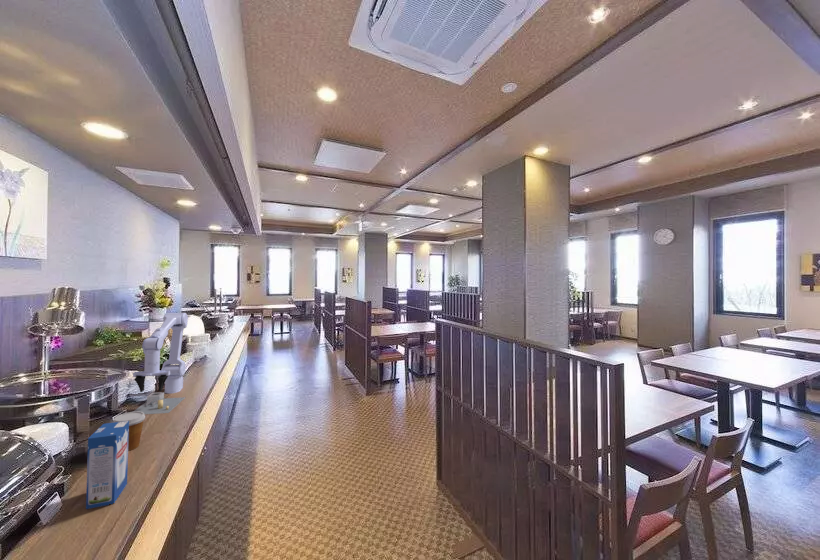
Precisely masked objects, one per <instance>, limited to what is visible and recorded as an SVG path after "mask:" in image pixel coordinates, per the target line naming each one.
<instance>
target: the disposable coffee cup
mask: <svg viewBox="0 0 820 560" xmlns="http://www.w3.org/2000/svg"><path fill="white" fill-rule="evenodd" d="M145 419H146V414H144V413H143V412H138V411H137V412H133V411H129V412H123V413H122V414H119V415H116V416H115V417H114V418H113V421H112V422H111V423H114V422H123V421H129V439H128V452H129V451H133V450H135V449H137V448H139V446H140V443H141V442H140V441H141V437H142V432H143V431H142V430H143V425H144V421H145Z"/></svg>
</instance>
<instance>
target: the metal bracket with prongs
mask: <svg viewBox="0 0 820 560" xmlns="http://www.w3.org/2000/svg"><path fill="white" fill-rule="evenodd" d="M164 398H165V391H164V392H162V391H158V392H151V393H150V394H148V395H147V396H146V402H147V404H146V407H148V406H150V405H151V404H152V406H155V405H156V404H158V400H164Z"/></svg>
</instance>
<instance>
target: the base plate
mask: <svg viewBox="0 0 820 560" xmlns="http://www.w3.org/2000/svg"><path fill="white" fill-rule="evenodd" d="M185 399H186V396H185V397H169V398H167V397H166V398H165V397H164V400H158V404H156V405H155V406H152V404H151V405H150V406H148V407H146V404H147V401H145V402H144V403H143V404H141V405H140V406H138V407H137V408H136V409H135V410H134V411H132V412H137V411H138V412H143V413H144V415H157V414H158V415H159V414H169V413H170V412H172V410H174V409H175V408H176V407H178V405H179V404H180V403H181V402H182V401H183V400H185Z"/></svg>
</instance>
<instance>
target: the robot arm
mask: <svg viewBox="0 0 820 560" xmlns="http://www.w3.org/2000/svg"><path fill="white" fill-rule="evenodd" d="M162 320H163V321H162V322H163V323H162V324H161V326H160V327H157V328H156V329H155V330H154V332H152V334H151V335H150V336H149V337H147V338H145V339H144V340H143V342H142V345H141V347H142V348H141V349H142V350H143V355H144V370H143V371H134V372H132V377H133V378H134V381H135V383H136V384H137V386H138V390H139V392H140V393H142V392H144V391H145V381H146V377H157V380H158V392H162V391H163V389H164V394H168V395H169V394H170V395H171V394H176V393H179V392H181V390H182V389H184V377H183V376H184V375H185V373H186V362H185V361H184V360H183V359H181V352H182V345H183V336H184V335H183V334H184V331H185V330H184V329H186V328H188V327H187V326H188V321H189V317H188V314H187V313H186V312H166V313H165V314H164V315H163V319H162ZM170 329H171V330H172V332H171V342H170V349H169V356H168V357H169V358H168V359H167V360H166V361H164V362H163V364H162V368H161V370H160V366H161V365H160V363H161V362H160V361H161V360H160V359H161V350H162V348H163V344H164V342H165V339H166V338H167V337H168V335H169V330H170Z"/></svg>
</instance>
